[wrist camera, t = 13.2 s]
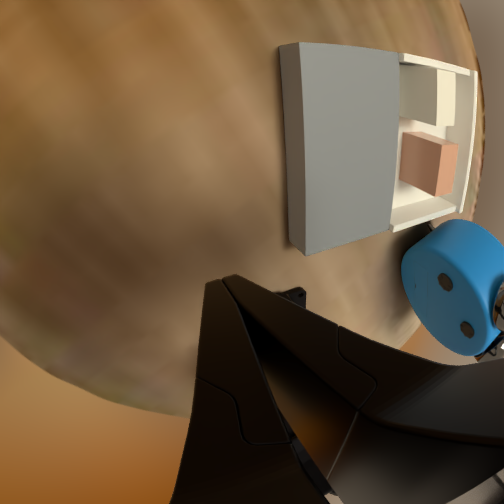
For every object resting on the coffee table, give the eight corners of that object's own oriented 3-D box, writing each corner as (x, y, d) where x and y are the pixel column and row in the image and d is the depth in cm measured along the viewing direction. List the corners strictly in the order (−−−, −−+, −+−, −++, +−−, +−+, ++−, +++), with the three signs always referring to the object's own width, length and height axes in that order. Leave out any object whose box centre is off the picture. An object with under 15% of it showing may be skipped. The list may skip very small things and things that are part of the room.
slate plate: (369, 217, 26) (389, 229, 24) (289, 240, 24) (305, 256, 22) (374, 52, 18) (398, 52, 16) (278, 45, 16) (299, 42, 14)
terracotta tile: (398, 179, 24) (416, 176, 25) (434, 197, 21) (451, 192, 22) (402, 131, 22) (420, 131, 23) (441, 145, 19) (458, 144, 20)
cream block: (395, 115, 21) (415, 114, 22) (436, 126, 18) (454, 125, 19) (394, 64, 19) (414, 66, 20) (436, 69, 16) (455, 72, 16)
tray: (437, 198, 29) (462, 212, 26) (369, 217, 26) (397, 235, 23) (447, 66, 21) (477, 71, 18) (374, 52, 18) (409, 53, 16)
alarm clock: (431, 280, 36) (513, 350, 24) (398, 307, 35) (480, 388, 23) (432, 196, 28) (550, 269, 16) (393, 224, 28) (518, 316, 16)
